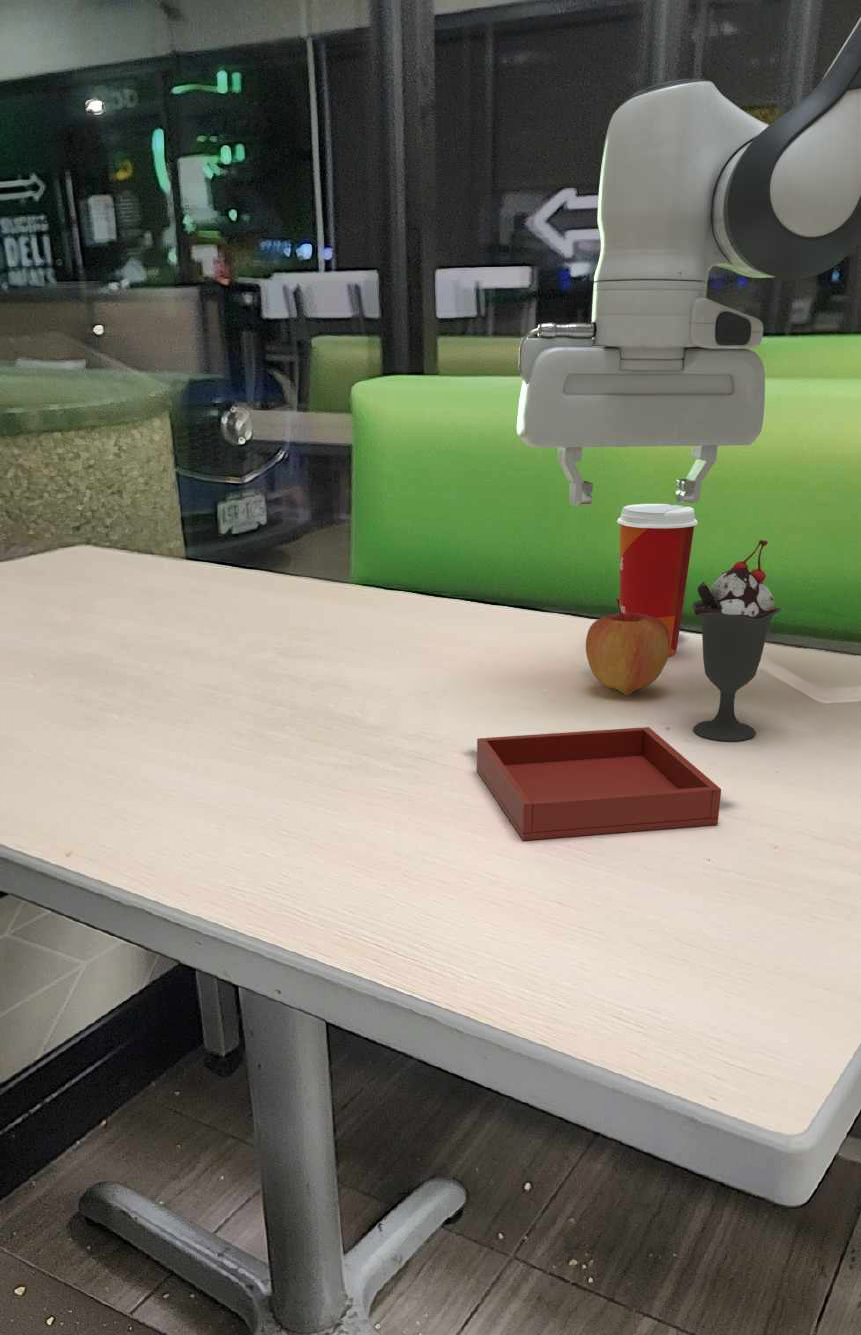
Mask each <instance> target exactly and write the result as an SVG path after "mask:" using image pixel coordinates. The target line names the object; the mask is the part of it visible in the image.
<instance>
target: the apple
mask: <svg viewBox="0 0 861 1335" xmlns="http://www.w3.org/2000/svg"><path fill="white" fill-rule="evenodd" d="M615 601H616V604H617V607H618V612H619V613H614V614H609V615H606V616H602V617H601V618H598V619H597V620H595V621H594V622H592V623H591V625H590V626H589V628H588V631H587V633H586V637H585V638H586V639H585V654H586V659H587V662H588V665H589V667H590V670H591V672H592V674H593V676H594V677H595V679H596V680H597V682H598V683H599V684H600V685H601V686H602V687H604V688H605V689H607V690H609V691H614V690H618V691H620V692H621V693H622V694H623V695H624V696H625V695H626V696H628V695H630V694H632V693H633V692H635V691H636V690H639V689H642V688H644V687H647V686H649V685H651V684H652V683H654V682H655V681H656V680H657V679H658V677H659V676H660V675H661V673H662V672H663V670H664V668H665V666H666V664H667V661H668V658H669V657H668V655H669V650H670V635H669V631H668V628H667V627H666V625H665V624H664V623H663V622H662V621H660V620H658V619H656V618H653V617H650V616H647V615H644V614H639V613H622V612H621V608H620V598H615Z"/></svg>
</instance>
